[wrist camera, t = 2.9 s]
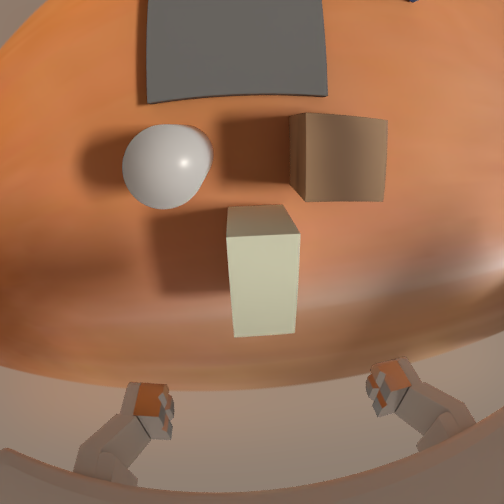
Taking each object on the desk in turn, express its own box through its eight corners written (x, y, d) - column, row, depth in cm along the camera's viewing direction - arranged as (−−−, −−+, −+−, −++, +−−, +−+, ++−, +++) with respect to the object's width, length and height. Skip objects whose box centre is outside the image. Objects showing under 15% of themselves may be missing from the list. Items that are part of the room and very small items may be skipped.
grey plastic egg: (212, 122, 18) (202, 119, 13) (215, 183, 20) (208, 206, 15) (150, 128, 18) (118, 131, 12) (155, 188, 20) (128, 212, 14)
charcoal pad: (314, -26, 13) (317, -31, 12) (323, 97, 18) (327, 95, 17) (153, -21, 12) (150, -26, 12) (151, 104, 17) (147, 103, 16)
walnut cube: (355, 119, 18) (387, 120, 14) (353, 184, 21) (383, 201, 16) (288, 115, 18) (305, 112, 14) (289, 184, 20) (305, 201, 16)
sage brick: (282, 204, 21) (300, 233, 16) (281, 286, 24) (294, 332, 18) (227, 206, 21) (226, 237, 15) (233, 289, 24) (234, 337, 18)
